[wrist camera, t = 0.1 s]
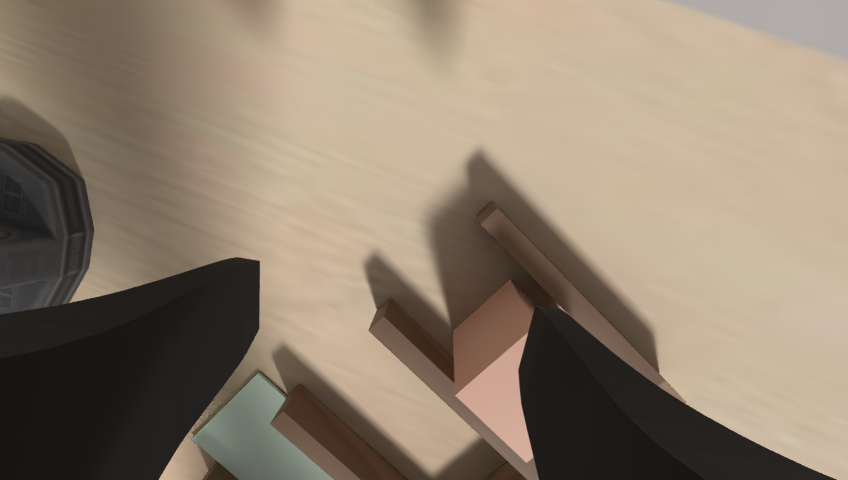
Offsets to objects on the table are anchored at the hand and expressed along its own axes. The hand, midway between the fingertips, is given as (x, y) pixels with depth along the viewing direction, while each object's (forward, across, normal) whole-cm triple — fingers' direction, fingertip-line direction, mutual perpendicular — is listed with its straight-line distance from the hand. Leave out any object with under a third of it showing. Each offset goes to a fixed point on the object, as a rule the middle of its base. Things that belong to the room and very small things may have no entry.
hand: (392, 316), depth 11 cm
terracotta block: (+10, -5, +6) cm, 12 cm away
